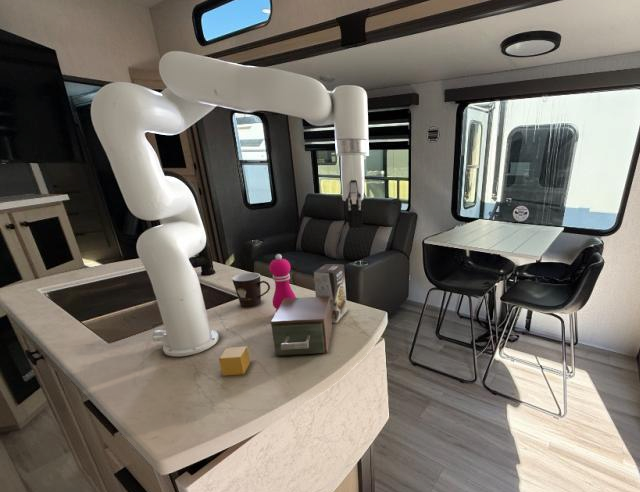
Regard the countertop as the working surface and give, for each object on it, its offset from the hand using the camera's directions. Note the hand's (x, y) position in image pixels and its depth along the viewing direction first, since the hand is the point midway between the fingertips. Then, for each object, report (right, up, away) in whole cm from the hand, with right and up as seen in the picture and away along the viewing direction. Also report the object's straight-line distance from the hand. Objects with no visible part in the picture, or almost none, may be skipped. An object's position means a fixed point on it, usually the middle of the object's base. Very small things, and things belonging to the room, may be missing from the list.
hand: (356, 224), depth 79 cm
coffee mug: (-40, -22, +30) cm, 55 cm away
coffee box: (-10, -25, +22) cm, 35 cm away
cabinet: (-15, -30, +8) cm, 35 cm away
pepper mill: (-26, -25, +23) cm, 43 cm away
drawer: (-14, -31, +4) cm, 34 cm away
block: (-27, -35, -4) cm, 45 cm away
